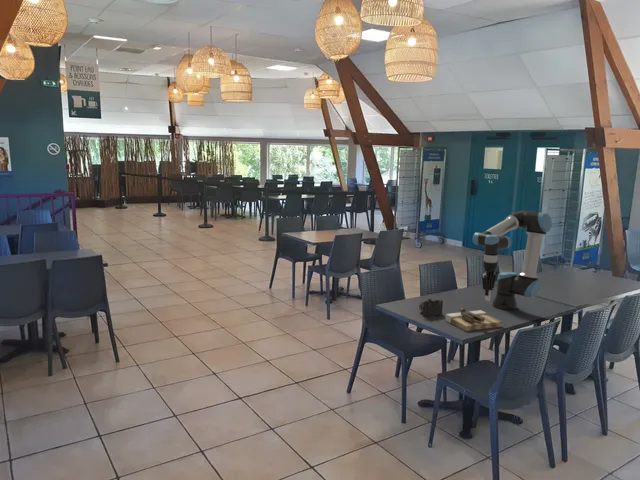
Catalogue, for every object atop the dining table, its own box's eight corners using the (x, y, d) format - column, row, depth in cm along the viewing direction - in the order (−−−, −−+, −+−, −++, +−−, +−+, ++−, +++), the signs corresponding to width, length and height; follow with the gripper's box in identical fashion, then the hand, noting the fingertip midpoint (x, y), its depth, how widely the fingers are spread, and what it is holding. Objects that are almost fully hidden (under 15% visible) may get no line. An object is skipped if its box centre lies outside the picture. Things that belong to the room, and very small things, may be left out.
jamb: (480, 316, 314) (481, 307, 313) (485, 318, 309) (486, 309, 308) (445, 320, 304) (446, 311, 303) (450, 323, 299) (451, 313, 298)
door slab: (485, 318, 309) (486, 314, 309) (502, 326, 296) (502, 321, 296) (450, 323, 299) (451, 318, 299) (465, 331, 286) (466, 326, 286)
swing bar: (457, 312, 305) (458, 308, 305) (462, 311, 307) (462, 307, 306) (480, 322, 289) (480, 317, 289) (484, 321, 291) (485, 316, 290)
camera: (431, 309, 324) (432, 294, 323) (443, 314, 315) (445, 299, 314) (414, 312, 317) (415, 297, 315) (426, 317, 308) (427, 302, 306)
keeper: (464, 318, 299) (465, 312, 298) (473, 323, 292) (474, 317, 291) (462, 318, 298) (462, 313, 298) (471, 323, 291) (471, 317, 290)
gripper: (491, 258, 300) (488, 296, 305) (478, 261, 292) (475, 300, 297) (502, 261, 294) (499, 300, 299) (489, 264, 287) (486, 304, 291)
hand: (487, 300), depth 298 cm, fingers closed
